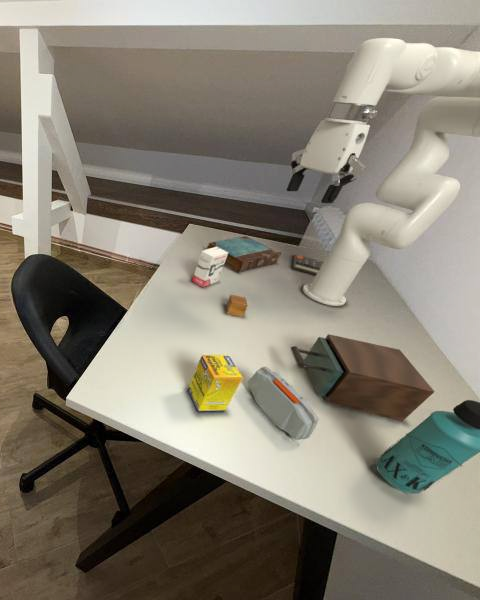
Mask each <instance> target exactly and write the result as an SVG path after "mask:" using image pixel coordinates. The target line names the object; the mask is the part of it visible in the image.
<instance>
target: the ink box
mask: <svg viewBox="0 0 480 600" xmlns="http://www.w3.org/2000/svg"><path fill="white" fill-rule="evenodd" d="M227 255H228V252H226V251H224V250H222V249H221V248H219V247H213V248H210V249H207V248H205V249H203V250H201V252H200V255H199V258H198V261H197V264H196V268H195V270H194V274H193V277H192V279H191V280H192V283H195V284H196V285H198V286H199V287H201V288H203V287H207V286H210V285H212V284H215V283H218V281H219V279H220V276H221V273H222V271H223V268H224V266H225V265H224V263H225V261H226V258H227Z"/></svg>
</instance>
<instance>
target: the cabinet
mask: <svg viewBox="0 0 480 600" xmlns="http://www.w3.org/2000/svg"><path fill="white" fill-rule="evenodd" d="M324 338H325V340H326V342H327V343H328V345H330V344H331V346H332V347H333V349H334V351H335V353H336V354H337V356H338V358H339V360H340V361H341V363H342V365H343V367H344V368H345V370H346V373H345V374H344V376H343V377H342V378H341V379H340V381H339V382H338V383H337V384H336V386H335V387H334V388H333V389H332V391H331V392H330V393H329V391H328V392H327V394H326V395H325V396H322V397H323V399H324V401H325V403H329V404H332V405H336V406H340V407H344V408H349V409H352V410H356V411H361V412H363V413H366V414H367V413H368V414H370V415H371V414H372V415H375V416H379V417H384V418H387V419H391V420H395V421H398V422H404V421H405V420H406V419H407V418H408V417H409V416H410V415H411V414H412V413H414V411H416V410H417V409H418V408H419V407H420V406H421V405H422V404H423V403H424V402H425V401H427V399H429V398H430V397H431V396H432V395H433V394H434V393H435V390H434V389H433V387H432V386H431V385H430V384H429V383H428V381H427V380H426V379H425V378H424V377H423V376H422V375H421V373H420V372H419V370H417V368H416V367H415V366H414V365H413V364H412V363H411V362H410V360H409V359H408V358H407V357H406V355H405V354H404V353H403V352H402V350H401V349H400V348H399V349H398V348H394V347H389V346H384V345H381V344H375V343H371V342H367V341H362V340H357V339H353V338H348V337H343V336H338V335H334V334H329V333H328V334H327V335H326V336H325V337H324Z"/></svg>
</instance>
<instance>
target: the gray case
mask: <svg viewBox="0 0 480 600" xmlns="http://www.w3.org/2000/svg"><path fill="white" fill-rule="evenodd" d="M247 385H248V388H249V390H250V392H251V394H252V395H253V399H254V402H255V403H256V404H257V406H258V407H259V408H260V410H261V411H262V412H263V413H264V415H266V416H267V418H268V419H269V420H270V421H271V422H272V423H273V424H274V425H275V426H276V427H277V428H278V429H280V430H282V431H284V432H286V433H287V434H288V435H289V436H291V438H293V439H294V440H298V441H299V440H308V439H309V438H310V437H311V436H312V435H313V432H314V430H315V429H316V428H317V424H318V422H319V419H320V418H319V416H318V414H316V412H315V411H314V409H313V408H312V406H311V405H310V403H309V402H308V401H307V399H306V398H305V397H303V395H302V394H300V393H299V392H298V391H297V390H296V389H295V388H294V387H293V386H292V385H291V384H290V383H289V381H287V380H286V379H285V378H284V377H283V376H281V374H279V373H277V372H275V371H273V370H271V369H270V368H269V367H267V366H262V367H260V368H259V369H258V370H256V371H255V373H254V374H253V375H252V376H251V377H250V378H249V380H248V381H247Z"/></svg>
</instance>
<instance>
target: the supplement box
mask: <svg viewBox="0 0 480 600" xmlns="http://www.w3.org/2000/svg"><path fill="white" fill-rule="evenodd" d="M232 359H233V358H231V356H230V355H229V354H202V355H201V356H200V359H199V361H198V364H197V365H196V368H195V371H194V374H193V376H192V378H191V381H190V383H189V385H188V388H187V392H188V394H189V395H190V397H191V400H192V403H193V405H194V407H195V410H196V412H197V413H198V414H209V413H210V414H211V413H212V414H213V413H225V412H226V410H227V408H228V407H229V404H230V402H231V401H232V399H233V397H234V395H235V394H236V392H237V390H238V388H239V387H240V384H241V383H242V380H243V379H244V376H243V375H242V373H241V372H240V371H239V370H238V368H237V366H236V365H235V362H234V361H233V360H232Z"/></svg>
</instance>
